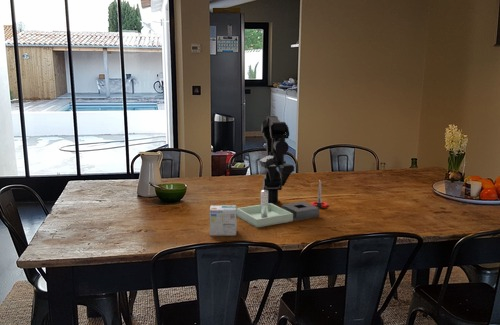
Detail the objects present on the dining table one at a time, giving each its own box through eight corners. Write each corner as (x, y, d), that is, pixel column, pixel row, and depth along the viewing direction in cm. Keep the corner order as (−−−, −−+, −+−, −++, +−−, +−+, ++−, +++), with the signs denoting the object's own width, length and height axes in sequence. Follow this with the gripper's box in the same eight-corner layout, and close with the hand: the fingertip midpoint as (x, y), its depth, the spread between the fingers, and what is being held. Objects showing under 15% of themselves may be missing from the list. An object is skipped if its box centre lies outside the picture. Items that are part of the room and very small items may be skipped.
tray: (236, 215, 221) (236, 208, 220) (270, 210, 230) (270, 203, 229) (256, 227, 206) (256, 219, 205) (292, 221, 214) (292, 213, 214)
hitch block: (281, 213, 226) (281, 204, 225) (302, 209, 231) (303, 201, 231) (296, 220, 215) (296, 211, 215) (318, 216, 221) (319, 208, 220)
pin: (259, 216, 218) (259, 190, 216) (265, 215, 220) (265, 189, 217) (262, 218, 215) (263, 192, 213) (269, 217, 217) (269, 191, 215)
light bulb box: (236, 230, 203) (236, 204, 200) (236, 235, 196) (236, 209, 194) (210, 230, 202) (210, 204, 200) (209, 235, 196) (209, 209, 194)
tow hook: (310, 203, 244) (310, 207, 235) (311, 177, 242) (311, 180, 233) (328, 204, 242) (328, 208, 233) (329, 178, 240) (329, 181, 231)
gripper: (252, 147, 227) (251, 181, 230) (273, 154, 211) (273, 190, 214) (272, 146, 232) (272, 178, 236) (295, 152, 217) (294, 187, 220)
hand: (277, 183), depth 226 cm, fingers open, 9 cm apart
